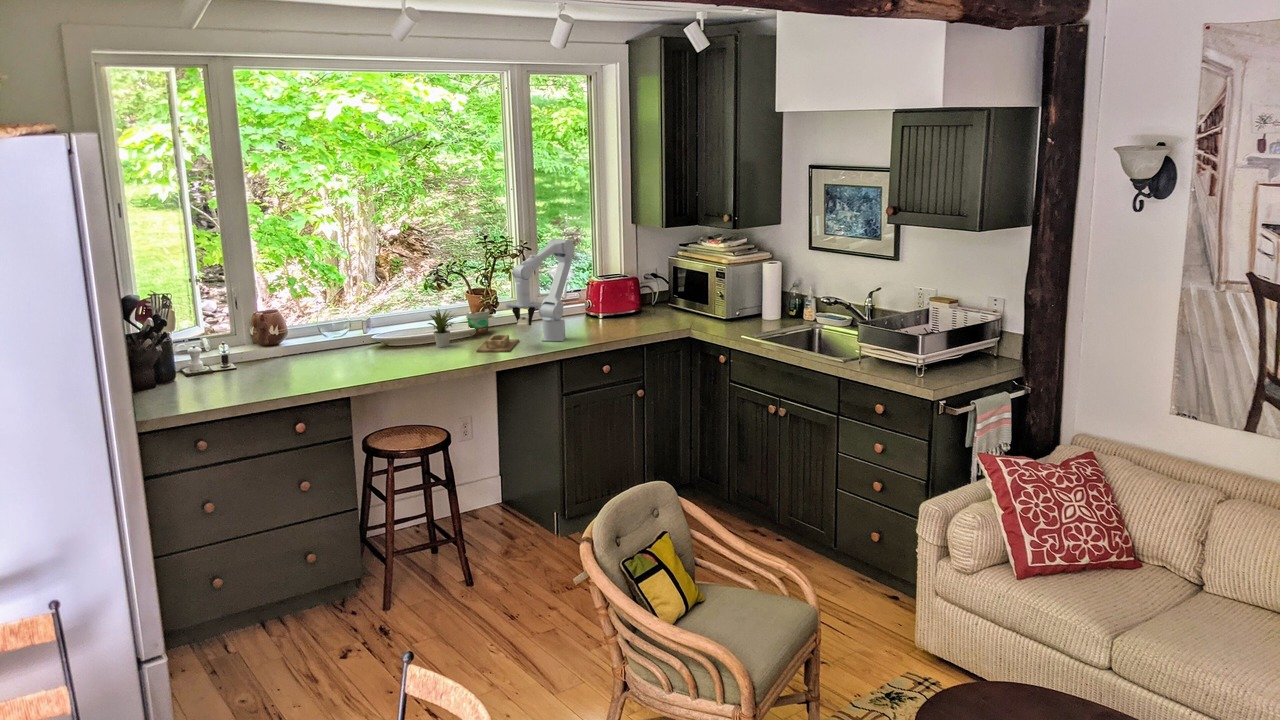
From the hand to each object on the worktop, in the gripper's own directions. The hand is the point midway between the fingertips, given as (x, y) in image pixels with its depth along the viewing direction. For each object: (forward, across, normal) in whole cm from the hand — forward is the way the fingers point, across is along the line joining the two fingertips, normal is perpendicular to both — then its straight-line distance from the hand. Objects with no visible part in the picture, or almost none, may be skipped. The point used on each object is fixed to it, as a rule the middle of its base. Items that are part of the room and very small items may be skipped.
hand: (524, 324), depth 424 cm
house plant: (+10, -36, 0) cm, 37 cm away
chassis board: (+9, -12, 0) cm, 15 cm away
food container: (+10, -25, +25) cm, 37 cm away
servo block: (+2, 0, 0) cm, 2 cm away
